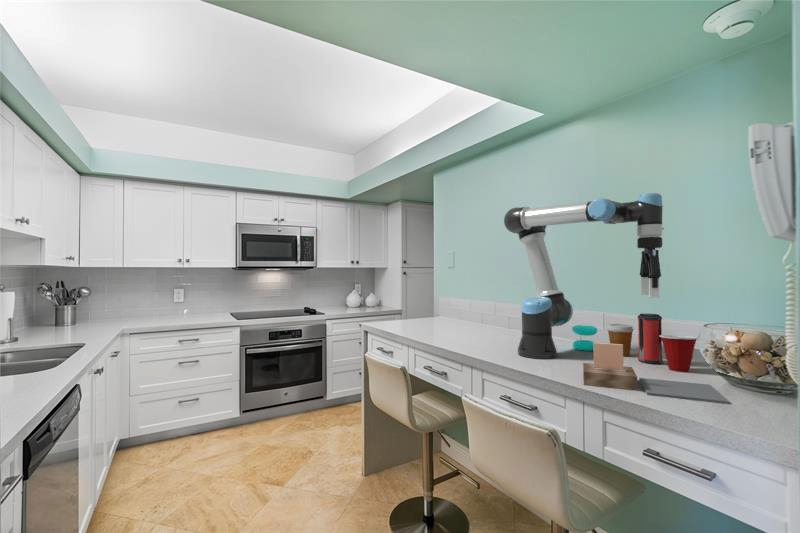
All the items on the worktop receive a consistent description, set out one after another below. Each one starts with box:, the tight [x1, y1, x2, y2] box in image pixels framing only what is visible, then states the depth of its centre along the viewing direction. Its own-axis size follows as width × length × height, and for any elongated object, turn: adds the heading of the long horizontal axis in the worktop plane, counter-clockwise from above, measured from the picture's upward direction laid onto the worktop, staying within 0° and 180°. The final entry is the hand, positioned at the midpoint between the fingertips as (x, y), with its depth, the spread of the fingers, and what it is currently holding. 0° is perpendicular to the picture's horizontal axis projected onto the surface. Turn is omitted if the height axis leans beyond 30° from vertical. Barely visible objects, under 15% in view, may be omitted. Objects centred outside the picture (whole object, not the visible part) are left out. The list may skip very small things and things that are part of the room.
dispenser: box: [582, 362, 638, 391], centre depth 118 cm, size 14×12×4 cm
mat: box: [638, 377, 730, 405], centre depth 109 cm, size 18×16×1 cm
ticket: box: [593, 342, 624, 370], centre depth 118 cm, size 8×1×12 cm, turn 65°
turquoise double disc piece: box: [571, 324, 598, 352], centre depth 167 cm, size 10×10×10 cm
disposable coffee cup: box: [606, 323, 635, 358], centre depth 155 cm, size 10×10×12 cm
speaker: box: [637, 313, 663, 365], centre depth 143 cm, size 8×8×18 cm
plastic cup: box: [659, 334, 698, 373], centre depth 132 cm, size 11×11×12 cm
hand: (649, 296), depth 136 cm, fingers open, 13 cm apart
